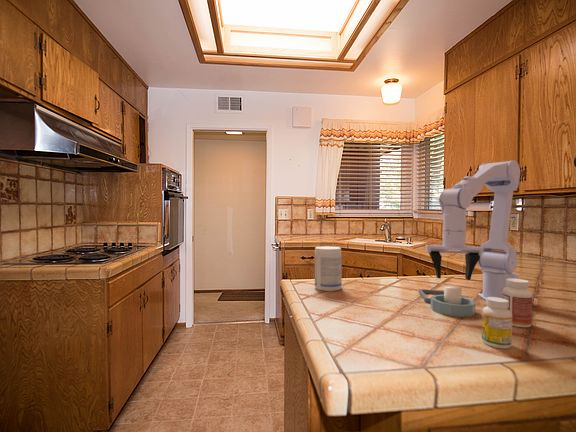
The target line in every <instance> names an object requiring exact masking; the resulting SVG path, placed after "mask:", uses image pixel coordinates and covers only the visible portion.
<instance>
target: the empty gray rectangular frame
mask: <svg viewBox="0 0 576 432" xmlns="http://www.w3.org/2000/svg"><path fill="white" fill-rule="evenodd" d="M419 293H420V294H419ZM426 293H429V294H430V295H444V290H441V289H440V290H439V289H427V288H426V289H424V288H418V294H419V295H420V297H421V296H422V297H421V298H422V300H423V299H424V300H423V301H424V303H430V304H431V297H428V296H427V295H426ZM429 294H428V295H429ZM461 297H464V296H463V295H461Z"/></svg>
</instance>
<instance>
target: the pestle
mask: <svg viewBox="0 0 576 432" xmlns="http://www.w3.org/2000/svg"><path fill="white" fill-rule="evenodd" d="M443 291H444V303H449V304H458V305H461V296H462V293H463V292H462V287H461V286H459V285H458V286H457V285H450V284H449V285H444V287H443Z"/></svg>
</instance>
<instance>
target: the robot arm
mask: <svg viewBox="0 0 576 432" xmlns="http://www.w3.org/2000/svg"><path fill="white" fill-rule="evenodd" d="M520 176H521V169H520V164H519V163H518V162H517V160H514V159H512V160H509V161H508V160H507V161H497V162H490V163H487V162H483V163H482V164H481V165H479V166H478V170H477V172H475V174H473V175H472V176H470V175H469V176H468V175H467V176H464V177H462V179H461V181H459V182H457V183H455V184H454V185H453V187H451V188H445V189H444V190H443V191H441V193H440V194H439V197H438V202H439V205H440V208H441V209H440V212H441V214H442V215H443V217H442V218H443V219H442V221H443V222H442V244H426V245H425V252H426V253H428V254H429V257H430V258H431V261H432V264H433V267H434V269H435V277H436V278H437V279H441V278H442V269H441V265H442V257H443V256H442V255H441V253H442V254H443V253H445V254H446V253H447V254H464V259H465V272H464V274H465V277H464V278H465V279H466V280H467V281H471V279H472V276H473V275H472V274H473V272H474V269H475V268H476V266H477V265H478V267H479V268H480V270H481V271H482V292H481V293H477V295H478V296H479V297H481V298H482V299H483V300H485V301H486V299H487V297H498V298H502V293H503V289H504V288H505V287H507V285H506V279H520V278H519V275H518V273H516V272H514V271H515V270H516V269H517V266H518V256H517V253H518V252H517V249H516V248H515V247H514V246H513V245H512V244H510V243H509V242H508V239H509V231H510V223H511V222H510V221H511V212H512V204H513V195H514V191H515V190H516V189H518V188H519V184H520V178H521V177H520ZM483 186H485V187H486V188H487V190H490V191H492V192H493V193H494V195H493V196H494V197H493V204H492V210H491V211H492V213H491V220H490V229H489V238H488V240H487V241H486V242H483V243H482V244H481V245H480V246H472V245H466V231H467V229H466V228H467V227H466V226H467V209H468V208H470V206H471V203H472V200H474V197H475V196H477V195H478V194H479V193H481V191H482V188H483Z"/></svg>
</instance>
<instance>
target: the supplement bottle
mask: <svg viewBox="0 0 576 432" xmlns="http://www.w3.org/2000/svg"><path fill="white" fill-rule="evenodd" d="M485 301H486V305H487V306H485V307H483V308H482V315H481V316H482V321H481V324H482V327H481V341H482V343H484V344H485V345H487V346H490V347H492V348H495V349H505V350H506V349H510V348H511V347H512V343H513V342H512V341H513V339H512V338H513V337H512V336H513V334H512V333H513V326H512V313H511V312H510V311H509V310H508V309H507V308H508V307H509V301H508V300H506V299H503V298H498V297H487V299H486V300H485Z"/></svg>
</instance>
